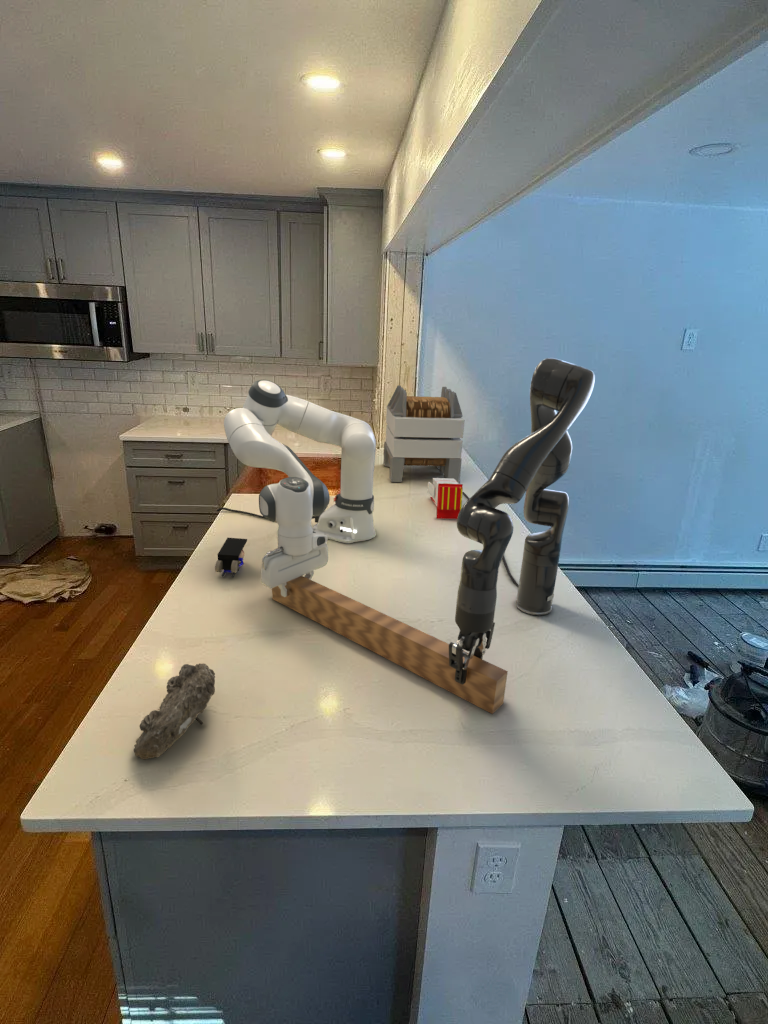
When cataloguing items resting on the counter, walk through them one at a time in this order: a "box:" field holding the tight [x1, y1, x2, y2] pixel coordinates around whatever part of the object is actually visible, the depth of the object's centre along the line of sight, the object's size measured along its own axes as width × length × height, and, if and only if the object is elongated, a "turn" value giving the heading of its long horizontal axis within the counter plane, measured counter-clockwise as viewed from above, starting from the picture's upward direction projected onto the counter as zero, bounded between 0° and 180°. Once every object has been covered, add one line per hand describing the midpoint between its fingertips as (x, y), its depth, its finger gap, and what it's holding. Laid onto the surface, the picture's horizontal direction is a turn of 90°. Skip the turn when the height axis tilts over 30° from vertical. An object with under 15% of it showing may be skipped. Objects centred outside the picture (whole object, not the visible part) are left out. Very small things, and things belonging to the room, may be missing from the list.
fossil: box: [133, 663, 216, 760], centre depth 105 cm, size 22×10×15 cm
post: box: [271, 575, 508, 715], centre depth 132 cm, size 67×4×8 cm, turn 50°
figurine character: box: [214, 537, 248, 578], centre depth 166 cm, size 7×8×15 cm
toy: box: [427, 477, 464, 520], centre depth 227 cm, size 12×13×30 cm
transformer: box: [383, 384, 465, 484], centre depth 268 cm, size 34×33×41 cm
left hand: (295, 590), depth 148 cm, fingers open, 6 cm apart
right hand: (468, 675), depth 117 cm, fingers open, 5 cm apart
